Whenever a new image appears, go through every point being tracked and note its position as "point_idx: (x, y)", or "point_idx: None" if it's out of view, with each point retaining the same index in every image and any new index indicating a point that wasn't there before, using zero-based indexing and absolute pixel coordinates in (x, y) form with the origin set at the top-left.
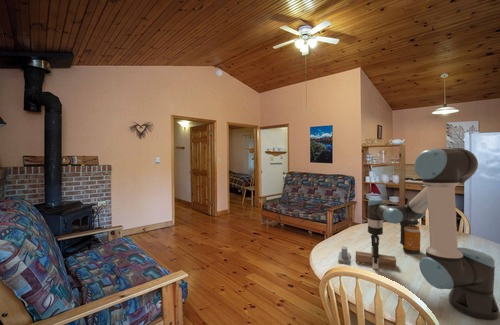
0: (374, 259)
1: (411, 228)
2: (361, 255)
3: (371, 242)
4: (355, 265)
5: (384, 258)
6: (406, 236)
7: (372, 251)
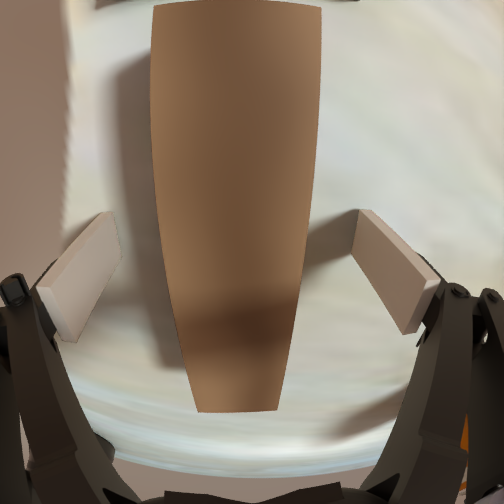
0: (34, 288)
1: (462, 486)
2: (150, 93)
3: (497, 299)
4: (104, 51)
5: (190, 362)
6: (464, 440)
7: (391, 254)
